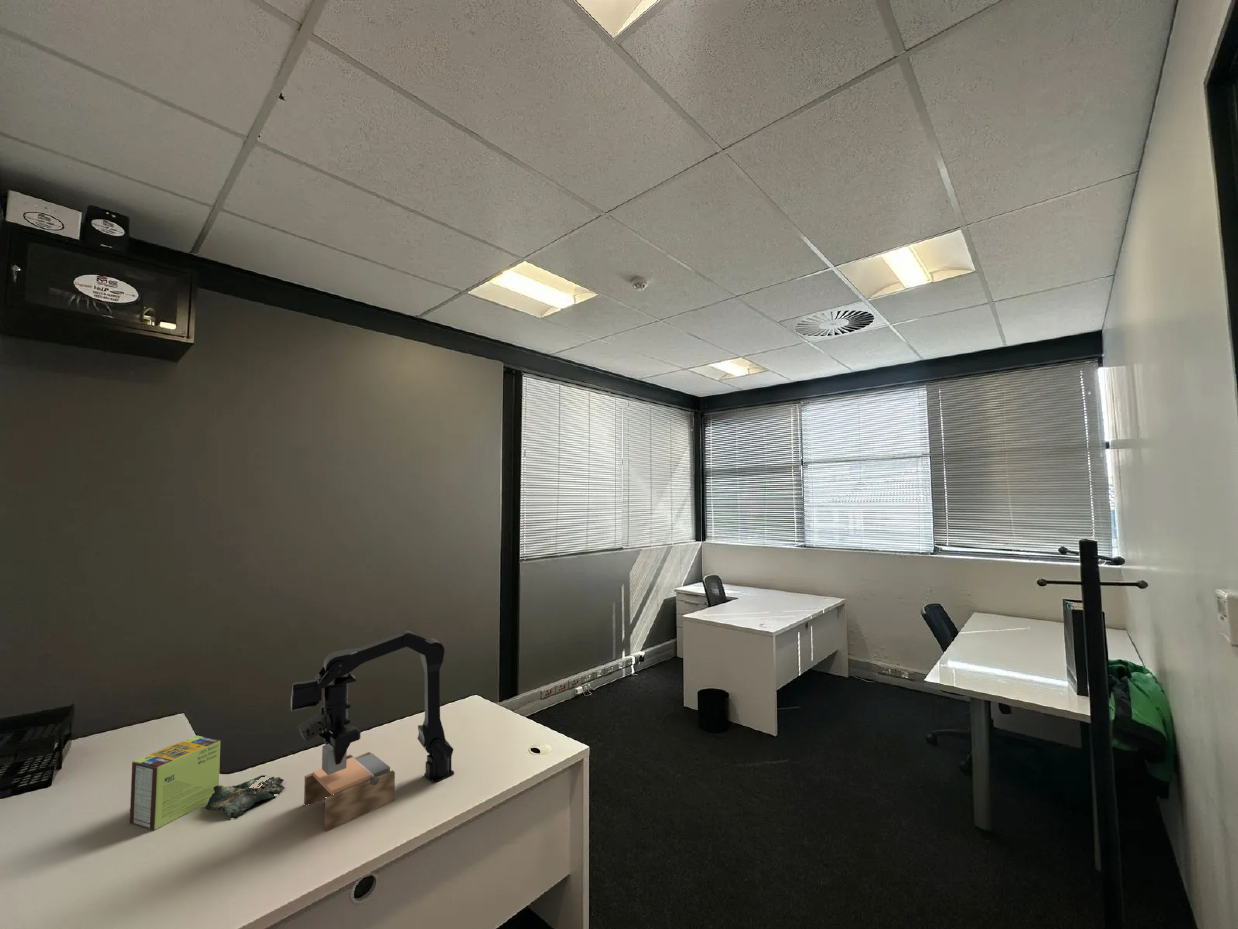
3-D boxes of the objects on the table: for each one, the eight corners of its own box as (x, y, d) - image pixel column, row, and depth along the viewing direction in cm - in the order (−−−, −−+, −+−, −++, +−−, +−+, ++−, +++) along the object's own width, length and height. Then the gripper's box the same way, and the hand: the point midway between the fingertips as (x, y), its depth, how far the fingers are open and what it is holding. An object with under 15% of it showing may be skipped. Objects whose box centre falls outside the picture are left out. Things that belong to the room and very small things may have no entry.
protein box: (219, 797, 142) (221, 739, 143) (153, 831, 127) (156, 767, 128) (194, 790, 145) (196, 734, 146) (127, 823, 130) (130, 761, 132)
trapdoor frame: (368, 777, 150) (368, 747, 151) (395, 801, 138) (395, 768, 139) (303, 803, 138) (304, 771, 138) (327, 832, 125) (327, 796, 126)
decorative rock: (254, 764, 152) (299, 763, 150) (253, 786, 151) (299, 785, 149) (193, 797, 133) (245, 796, 131) (192, 822, 132) (244, 821, 130)
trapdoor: (370, 766, 149) (370, 750, 149) (391, 783, 140) (391, 766, 140) (312, 789, 138) (312, 771, 138) (331, 809, 128) (331, 790, 128)
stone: (340, 762, 139) (340, 739, 139) (346, 768, 136) (346, 745, 136) (321, 769, 135) (322, 746, 136) (328, 775, 132) (328, 751, 133)
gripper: (290, 701, 137) (289, 761, 136) (314, 721, 124) (313, 787, 123) (335, 689, 145) (334, 746, 144) (361, 706, 133) (360, 768, 132)
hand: (334, 761), depth 136 cm, fingers closed on stone, 4 cm apart
